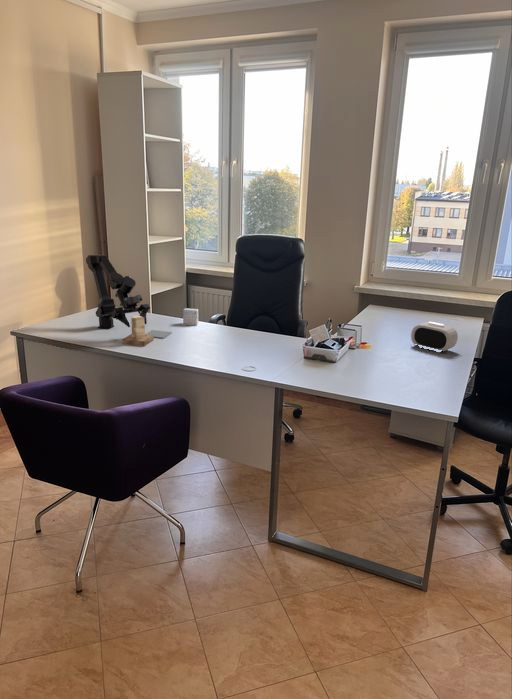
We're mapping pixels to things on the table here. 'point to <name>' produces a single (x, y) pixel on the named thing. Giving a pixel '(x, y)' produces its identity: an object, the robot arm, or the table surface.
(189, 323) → the medicine box
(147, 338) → the walnut shelf block
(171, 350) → the table surface
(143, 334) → the birch blank
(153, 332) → the slate mat
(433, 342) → the alarm clock
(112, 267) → the robot arm
